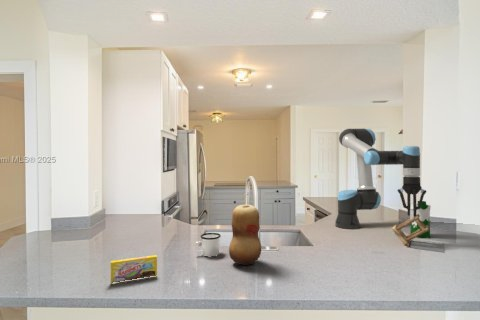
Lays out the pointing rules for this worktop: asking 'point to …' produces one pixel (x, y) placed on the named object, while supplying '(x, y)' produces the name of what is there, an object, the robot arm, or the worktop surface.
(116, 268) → the candy box
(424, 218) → the milk carton
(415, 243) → the mat
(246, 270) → the worktop surface
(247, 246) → the butternut squash
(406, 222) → the stool
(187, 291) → the worktop surface
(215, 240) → the mug
